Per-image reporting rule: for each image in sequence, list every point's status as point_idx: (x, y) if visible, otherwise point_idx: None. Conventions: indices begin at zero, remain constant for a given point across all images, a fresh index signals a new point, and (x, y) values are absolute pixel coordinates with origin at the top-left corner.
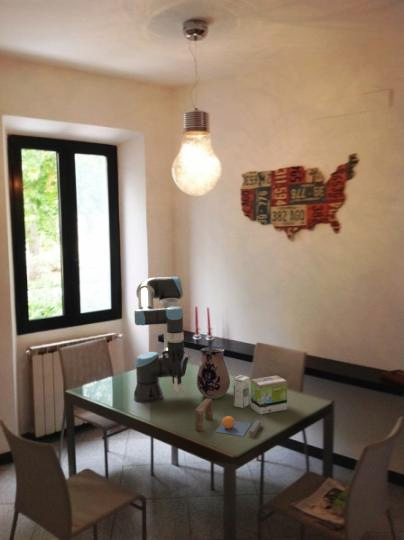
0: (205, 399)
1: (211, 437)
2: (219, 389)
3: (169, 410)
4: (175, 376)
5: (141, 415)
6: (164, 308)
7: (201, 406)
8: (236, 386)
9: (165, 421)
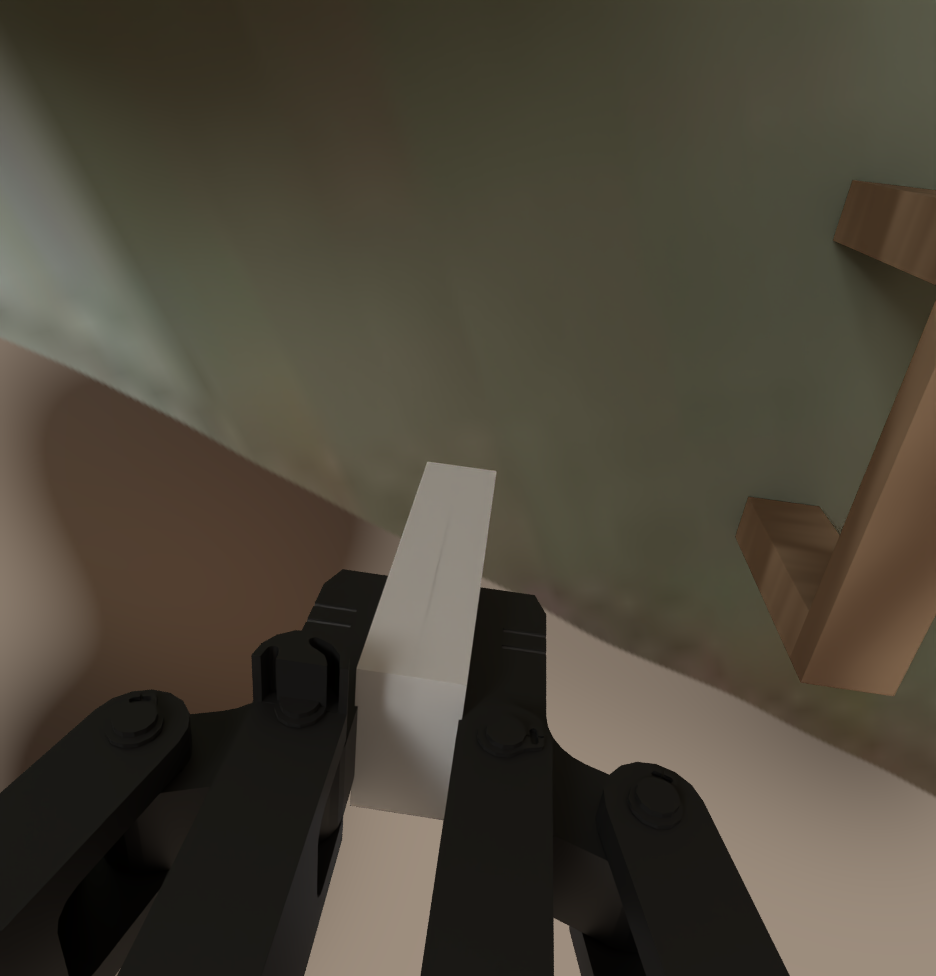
0: None
1: None
2: None
3: (271, 37)
4: (354, 740)
5: (27, 282)
6: None
7: (900, 566)
8: None
9: (364, 391)
